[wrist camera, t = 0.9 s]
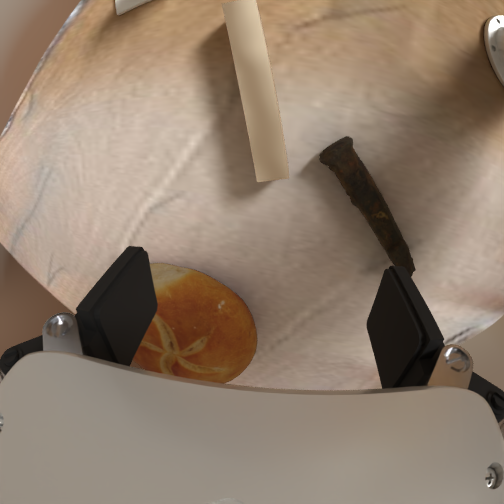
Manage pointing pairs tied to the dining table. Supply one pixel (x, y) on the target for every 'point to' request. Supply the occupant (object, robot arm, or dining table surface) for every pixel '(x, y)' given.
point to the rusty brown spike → (367, 199)
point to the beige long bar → (257, 89)
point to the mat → (128, 5)
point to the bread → (196, 328)
